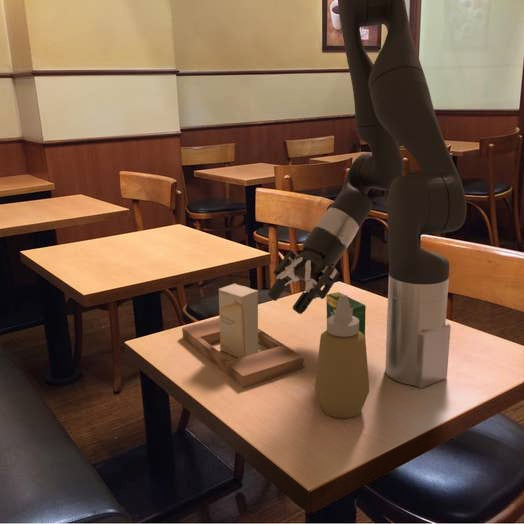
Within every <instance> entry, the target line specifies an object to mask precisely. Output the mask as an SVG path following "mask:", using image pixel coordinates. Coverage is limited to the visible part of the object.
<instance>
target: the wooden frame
mask: <svg viewBox="0 0 524 524" xmlns="http://www.w3.org/2000/svg"><path fill="white" fill-rule="evenodd" d="M181 328H182V329H181V331H182V333H181V334H182V338H183V339H185V340H186V341H187V342H188V343H189V344H191V346H193V347H194V348H196V349H197V351H199V352H201V353H202V354H203V355H204V356H205V357H206V358H207V359H209V360H210V361H211V362H212V363H214V364H215V365H216V367H218V368H219V369H220V370H222V371H223V372H225V373H226V374H227V375H228V376H229V377H231V378H232V379H233V380H234V381H236V383H238V384H239V385H240V386H241V387H243V388H245V387H248V386H251V385H256V384H257V383H261V382H263V381H267V380H270V379H273V378H276V377H280V376H282V375H285V374H288V373H291V372H294V371H297V370H300V369H303V368H304V366H305V365H304V363H305V362H304V361H305V360H304V358H305V357H304V356H303V355H301V354H299V353H298V352H297V351H296V350H293V349H291V348H290V347H288V346H286V345H285V344H283V343H282V342H281V341H279V340H278V339H276V338H274V337H273V336H271V335H269V334H268V333H266V332H265V331H263V330H261V329H260V328H258V344H260V345H262V346H263V347H265V348H266V350H263V351H258V352H257V353H255V354H251V355H248V356H245V357H241V358H238V357H237V358H236V359H232V360H230V359H229V358H228V357H226V356H225V355H224V354H223V353H222V352H220V351H219V350H218V349H216V348H215V347H213V345H212V344H216V343H218V342H219V343H220V320H219V318H216V319H211V320H207V321H203V322H199V323H195V324H191V325H187V326H184V327H181Z"/></svg>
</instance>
